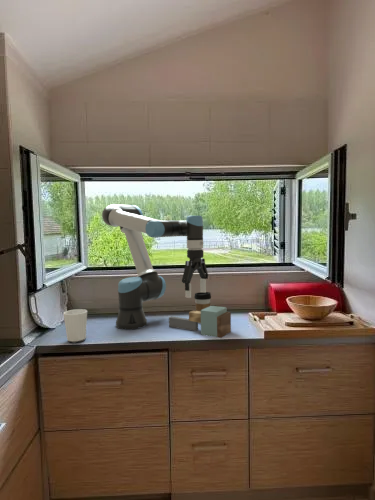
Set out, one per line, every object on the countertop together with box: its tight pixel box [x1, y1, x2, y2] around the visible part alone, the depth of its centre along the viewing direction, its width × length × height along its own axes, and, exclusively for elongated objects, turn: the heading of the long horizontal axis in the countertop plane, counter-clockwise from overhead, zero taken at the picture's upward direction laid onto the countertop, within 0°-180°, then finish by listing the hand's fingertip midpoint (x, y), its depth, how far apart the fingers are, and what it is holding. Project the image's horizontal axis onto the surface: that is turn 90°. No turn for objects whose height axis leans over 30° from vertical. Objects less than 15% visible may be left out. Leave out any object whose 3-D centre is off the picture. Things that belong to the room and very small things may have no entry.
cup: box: [63, 308, 88, 344], centre depth 149 cm, size 10×10×13 cm
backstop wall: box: [216, 311, 232, 339], centre depth 152 cm, size 2×10×9 cm, turn 148°
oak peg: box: [188, 310, 201, 324], centre depth 158 cm, size 14×4×4 cm, turn 59°
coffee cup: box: [193, 291, 212, 325], centre depth 173 cm, size 8×8×15 cm
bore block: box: [200, 305, 228, 338], centre depth 155 cm, size 8×10×11 cm
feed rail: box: [168, 315, 199, 332], centre depth 164 cm, size 15×2×4 cm, turn 58°
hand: (196, 294), depth 159 cm, fingers open, 13 cm apart
